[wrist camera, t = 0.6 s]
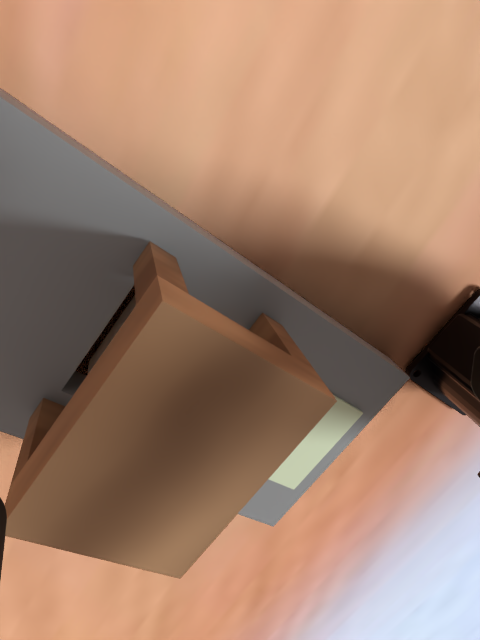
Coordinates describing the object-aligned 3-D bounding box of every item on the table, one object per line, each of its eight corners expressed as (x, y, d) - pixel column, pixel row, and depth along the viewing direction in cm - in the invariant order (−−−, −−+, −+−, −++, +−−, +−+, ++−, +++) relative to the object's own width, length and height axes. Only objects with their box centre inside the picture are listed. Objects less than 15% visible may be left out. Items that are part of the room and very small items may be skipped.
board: (390, 358, 25) (412, 379, 23) (263, 500, 28) (274, 529, 26) (-51, 52, 15) (-77, 44, 13) (-188, 328, 17) (-226, 356, 15)
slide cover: (282, 325, 20) (337, 400, 15) (166, 469, 22) (180, 578, 17) (149, 240, 17) (162, 300, 12) (29, 417, 19) (-4, 533, 14)
